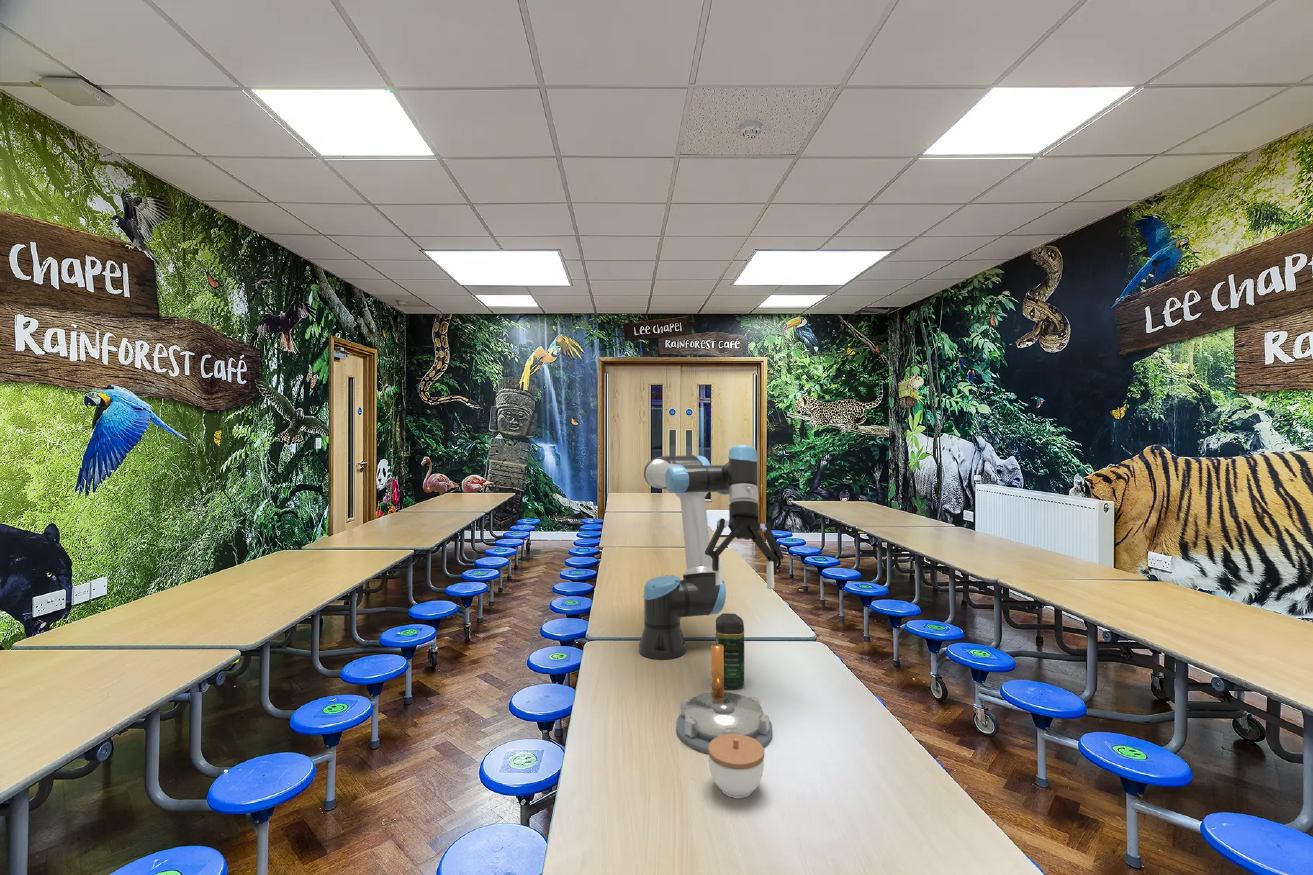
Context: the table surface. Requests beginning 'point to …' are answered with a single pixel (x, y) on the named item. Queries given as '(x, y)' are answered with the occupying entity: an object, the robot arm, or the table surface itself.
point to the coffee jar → (731, 648)
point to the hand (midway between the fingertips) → (745, 586)
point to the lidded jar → (736, 764)
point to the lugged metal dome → (722, 708)
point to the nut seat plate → (703, 744)
